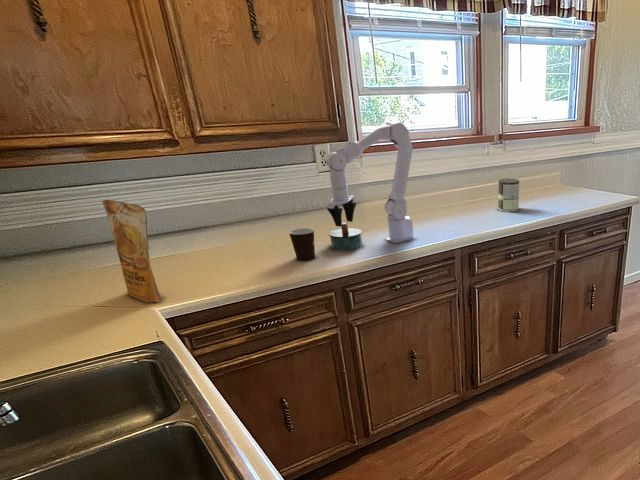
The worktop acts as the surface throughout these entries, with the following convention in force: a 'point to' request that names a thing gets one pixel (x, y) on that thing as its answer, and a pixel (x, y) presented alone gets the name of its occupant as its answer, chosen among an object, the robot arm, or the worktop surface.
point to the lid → (345, 232)
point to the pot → (346, 243)
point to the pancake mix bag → (133, 248)
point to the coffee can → (508, 195)
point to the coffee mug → (303, 243)
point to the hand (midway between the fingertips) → (344, 223)
